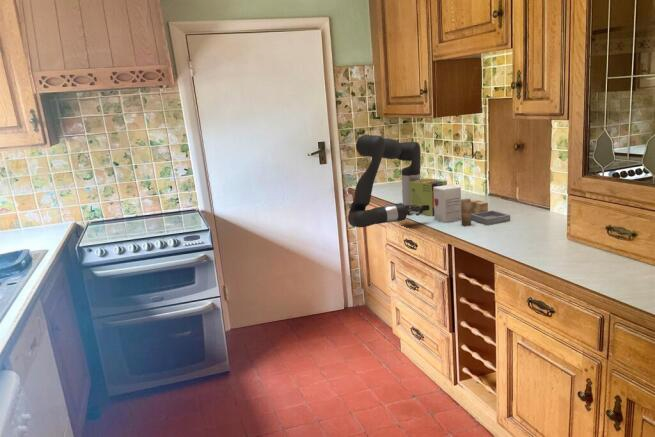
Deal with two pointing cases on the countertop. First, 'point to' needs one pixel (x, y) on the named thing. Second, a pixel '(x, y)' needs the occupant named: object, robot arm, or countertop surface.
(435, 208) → the supplement box
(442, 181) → the protein box
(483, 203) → the stop block
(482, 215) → the tray
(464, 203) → the dowel
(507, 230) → the countertop surface
